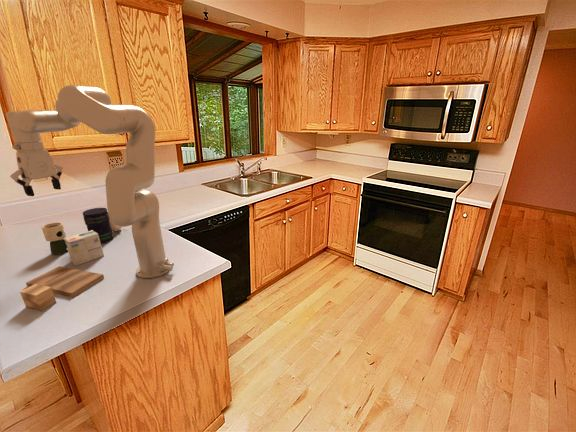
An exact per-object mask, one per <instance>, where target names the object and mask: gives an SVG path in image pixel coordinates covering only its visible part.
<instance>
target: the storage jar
mask: <svg viewBox="0 0 576 432" xmlns="http://www.w3.org/2000/svg"><path fill="white" fill-rule="evenodd" d="M82 216H83V220H84V225H85V226H86V228H87V231H91V230H93V231H95V232H96V233H98V236H99V239H100V243H101V245H103V244H107V243H110V242H111V241H114V239H115V237H114V231H112V228H111V226H110V222H109V220H110V218H109V215H108V209H107V207H94V208H89V209H87V210H83V212H82Z"/></svg>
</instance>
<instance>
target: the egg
mask: <svg viewBox="0 0 576 432" xmlns="http://www.w3.org/2000/svg"><path fill="white" fill-rule="evenodd" d="M108 215H109V214H108ZM109 218H110V217H109ZM109 222H110V226H111V228H112V231H113V232H118V231H120V230H121V229H122V228H123V227H121V226H117V225H116V224H114V223H113V222H112V220H111V219H110V220H109Z"/></svg>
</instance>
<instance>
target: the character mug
mask: <svg viewBox="0 0 576 432" xmlns="http://www.w3.org/2000/svg"><path fill="white" fill-rule="evenodd" d="M41 229H42V233H43V235H44V240H45V242H49V249H50V253H51V254H52V255H59V254H64V253H66V252H68V248H67V245H66V242H65V239H64V238H66V237H67V233H66V232H65V229H64V224H63V223H62V222H60V221H59V222H57V221H56V222H50V223H47V224H44V225H42V226H41Z"/></svg>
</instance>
